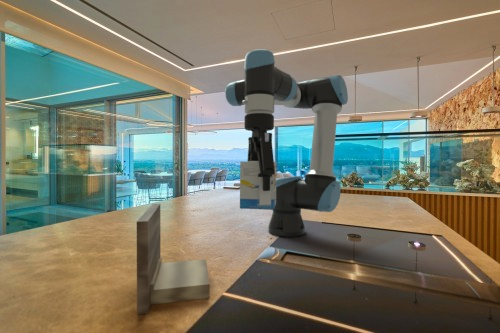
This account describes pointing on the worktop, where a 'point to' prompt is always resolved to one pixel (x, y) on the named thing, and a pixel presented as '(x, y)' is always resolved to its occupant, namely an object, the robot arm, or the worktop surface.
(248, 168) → the ink box
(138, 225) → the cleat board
